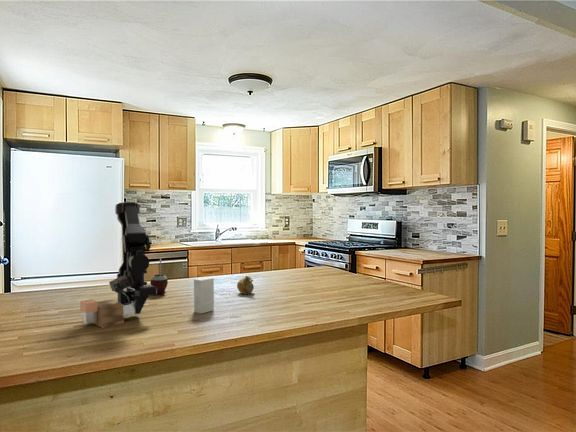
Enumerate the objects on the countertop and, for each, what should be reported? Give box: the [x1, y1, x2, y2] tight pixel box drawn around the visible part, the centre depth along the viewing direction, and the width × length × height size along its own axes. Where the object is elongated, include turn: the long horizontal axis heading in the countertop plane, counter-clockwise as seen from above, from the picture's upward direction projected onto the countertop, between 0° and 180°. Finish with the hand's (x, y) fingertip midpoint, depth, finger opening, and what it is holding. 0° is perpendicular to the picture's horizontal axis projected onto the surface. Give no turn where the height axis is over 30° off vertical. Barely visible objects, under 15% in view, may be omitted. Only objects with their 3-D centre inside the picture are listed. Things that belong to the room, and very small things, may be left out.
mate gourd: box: [149, 257, 169, 296], centre depth 175 cm, size 8×8×15 cm
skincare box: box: [193, 276, 215, 314], centre depth 147 cm, size 6×4×12 cm
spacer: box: [79, 298, 99, 313], centre depth 128 cm, size 4×4×3 cm
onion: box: [236, 275, 255, 295], centre depth 177 cm, size 8×8×8 cm
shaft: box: [82, 300, 142, 325], centre depth 134 cm, size 18×3×4 cm, turn 137°
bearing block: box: [92, 299, 125, 329], centre depth 132 cm, size 7×10×6 cm
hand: (135, 312), depth 140 cm, fingers closed on shaft, 3 cm apart
